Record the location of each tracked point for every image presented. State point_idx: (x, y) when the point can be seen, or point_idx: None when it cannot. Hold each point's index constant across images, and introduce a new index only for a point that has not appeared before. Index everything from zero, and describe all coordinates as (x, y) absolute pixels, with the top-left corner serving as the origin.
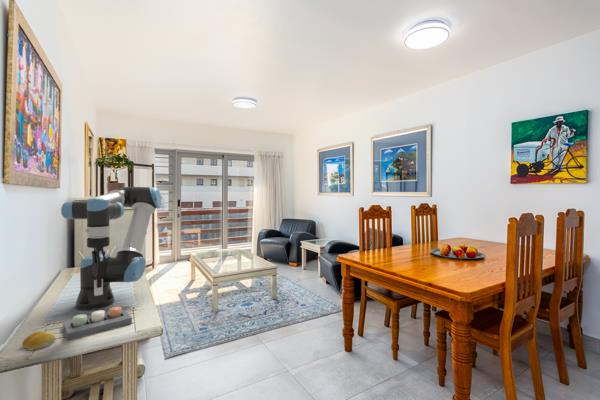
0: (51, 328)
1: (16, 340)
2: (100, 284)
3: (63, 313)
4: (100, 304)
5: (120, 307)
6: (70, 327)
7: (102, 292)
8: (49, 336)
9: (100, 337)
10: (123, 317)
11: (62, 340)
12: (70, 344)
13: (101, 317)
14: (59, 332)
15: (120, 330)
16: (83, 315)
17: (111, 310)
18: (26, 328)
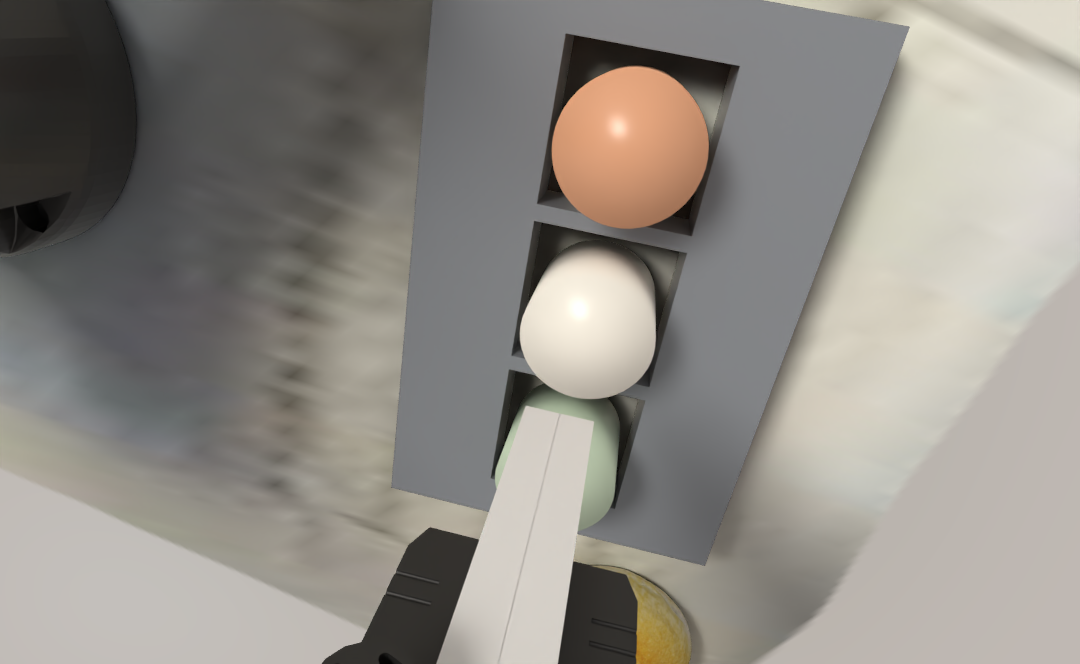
0: (376, 503)
1: None
2: (632, 657)
3: (95, 351)
4: (99, 82)
5: (646, 80)
6: None
7: (588, 449)
8: (659, 647)
9: (895, 381)
10: (793, 101)
11: None
12: (794, 542)
13: (654, 312)
14: None
15: (934, 203)
16: None
17: (658, 215)
18: (263, 575)
